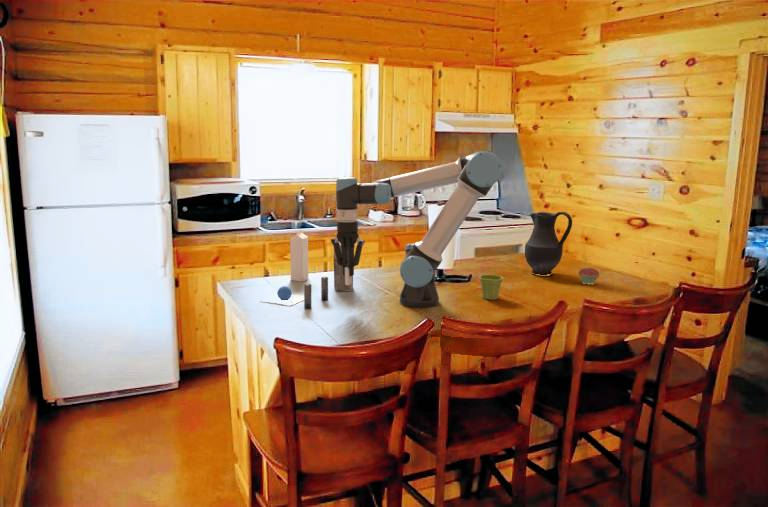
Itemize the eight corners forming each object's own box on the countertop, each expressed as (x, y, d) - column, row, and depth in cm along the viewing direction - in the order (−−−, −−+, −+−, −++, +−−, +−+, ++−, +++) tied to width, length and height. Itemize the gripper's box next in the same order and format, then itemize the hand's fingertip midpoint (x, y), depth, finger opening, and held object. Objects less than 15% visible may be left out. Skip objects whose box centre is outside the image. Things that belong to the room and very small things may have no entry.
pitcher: (531, 268, 300) (535, 207, 294) (573, 274, 288) (579, 211, 282) (517, 274, 286) (521, 210, 280) (560, 281, 274) (565, 214, 268)
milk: (290, 280, 268) (289, 230, 264) (295, 277, 274) (294, 228, 270) (303, 281, 267) (302, 231, 262) (308, 278, 273) (307, 229, 268)
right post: (329, 299, 240) (329, 277, 238) (326, 301, 237) (325, 278, 235) (323, 298, 241) (323, 276, 239) (320, 300, 238) (320, 277, 236)
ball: (280, 294, 241) (291, 301, 240) (272, 297, 236) (284, 304, 235) (285, 282, 240) (296, 289, 238) (277, 285, 235) (289, 292, 233)
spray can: (350, 292, 250) (350, 244, 246) (331, 291, 252) (331, 243, 248) (355, 287, 258) (356, 240, 254) (336, 286, 260) (336, 239, 256)
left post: (312, 307, 228) (312, 284, 226) (309, 309, 226) (308, 286, 224) (306, 307, 229) (306, 283, 227) (303, 308, 227) (302, 285, 225)
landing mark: (310, 297, 242) (310, 296, 242) (290, 306, 230) (290, 305, 230) (279, 293, 248) (279, 292, 248) (259, 301, 235) (259, 301, 235)
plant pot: (473, 296, 248) (474, 275, 246) (493, 294, 252) (494, 273, 250) (486, 302, 240) (487, 280, 238) (506, 300, 243) (507, 278, 241)
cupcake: (577, 285, 269) (579, 258, 266) (579, 280, 276) (581, 254, 274) (598, 287, 266) (600, 260, 263) (599, 282, 273) (601, 256, 271)
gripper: (326, 221, 221) (328, 284, 225) (358, 222, 216) (360, 288, 220) (336, 218, 227) (337, 280, 232) (368, 220, 222) (369, 283, 227)
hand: (348, 284), depth 226 cm, fingers closed
